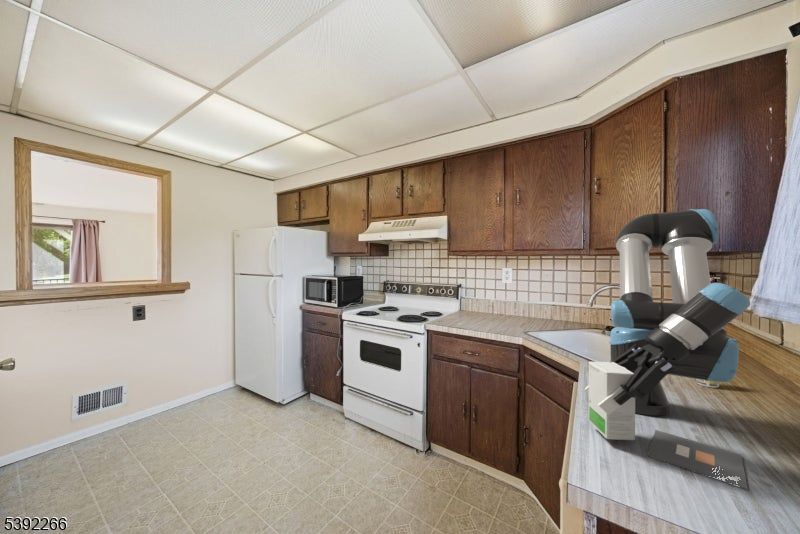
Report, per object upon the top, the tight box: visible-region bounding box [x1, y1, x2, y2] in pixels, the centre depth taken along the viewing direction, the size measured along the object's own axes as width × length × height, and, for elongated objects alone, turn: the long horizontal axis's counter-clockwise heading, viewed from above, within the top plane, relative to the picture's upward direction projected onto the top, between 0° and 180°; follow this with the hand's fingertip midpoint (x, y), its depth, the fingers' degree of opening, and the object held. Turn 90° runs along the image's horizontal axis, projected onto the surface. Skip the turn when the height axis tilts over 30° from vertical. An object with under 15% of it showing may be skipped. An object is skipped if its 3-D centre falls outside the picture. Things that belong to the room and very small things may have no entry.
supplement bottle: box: [695, 379, 720, 389], centre depth 101 cm, size 6×6×10 cm
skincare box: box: [588, 361, 636, 441], centre depth 71 cm, size 8×7×16 cm
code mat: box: [647, 429, 749, 491], centre depth 63 cm, size 14×14×1 cm
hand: (595, 400), depth 72 cm, fingers closed on skincare box, 9 cm apart
